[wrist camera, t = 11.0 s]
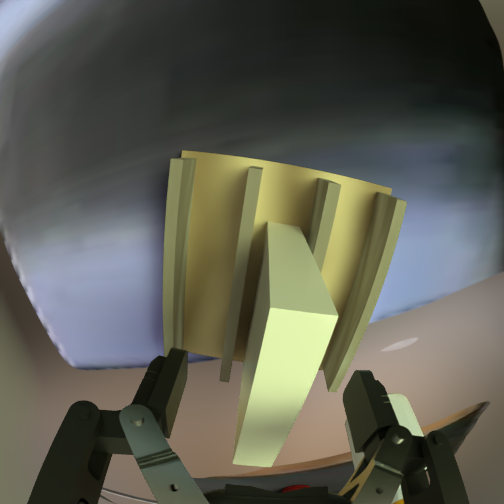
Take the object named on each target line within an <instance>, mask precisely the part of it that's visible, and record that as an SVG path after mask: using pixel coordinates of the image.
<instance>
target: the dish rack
mask: <svg viewBox="0 0 504 504" xmlns="http://www.w3.org/2000/svg"><path fill="white" fill-rule="evenodd" d="M391 191H392V189H391V188H388V187H384V186H381V185H377V184H373V183H370V182H366V181H362V180H358V179H354V178H350V177H345V176H341V175H337V174H332V173H328V172H323V171H319V170H314V169H309V168H304V167H299V166H294V165H288V164H283V163H277V162H271V161H265V160H258V159H252V158H245V157H238V156H230V155H222V154H214V153H205V152H195V151H182V156H181V158H172V159H171V163H170V172H169V181H168V192H167V204H166V217H165V234H164V256H163V339H164V357H167V356H168V354H169V351H170V349H171V348H172V347H173V348H178V349H182V350H187V351H188V352H190V353H195V354H200V355H206V356H211V357H217V358H222V366H221V374H220V381H223V382H229V379H230V372H231V366H232V360H235V361H241V362H244V353H245V346H246V340H247V335H248V329H249V324H250V318H251V313H252V307H253V302H254V296H255V291H256V285H257V279H258V274H259V268H260V262H261V257H262V251H263V245H264V239H265V234H266V228H267V222H268V221H269V222H275V223H281V224H287V225H293V226H298V227H300V229H301V231H302V233H303V235H304V237H305V239H306V242H307V244H308V246H309V248H310V250H311V253H312V255H313V257H314V259H315V262H316V264H317V266H318V268H319V271H320V273H321V275H322V278H323V280H324V282H325V284H326V287H327V289H328V292H329V294H330V296H331V299H332V301H333V303H334V306H335V308H336V311H337V313H338V319H337V322H336V325H335V328H334V330H333V333H332V336H331V338H330V341H329V344H328V346H327V349H326V352H325V354H324V357H323V359H322V362H321V364H320V367H319V369H318V370H323V371H324V375H325V379H326V384H327V389H328V392H337V390H338V388H339V386H340V384H341V382H342V380H343V378H344V376H345V374H346V372H347V370H348V368H349V366H350V364H351V362H352V360H353V357H354V355H355V353H356V351H357V349H358V347H359V344H360V342H361V340H362V338H363V335H364V332H365V330H366V328H367V326H368V323H369V321H370V318H371V316H372V313H373V311H374V308H375V306H376V303H377V300H378V298H379V295H380V292H381V289H382V286H383V284H384V281H385V278H386V275H387V272H388V269H389V266H390V262H391V259H392V256H393V253H394V249H395V246H396V243H397V239H398V236H399V232H400V228H401V225H402V221H403V217H404V213H405V209H406V204H407V202H406V201H404V200H401V199H398V198H396V197H393V196H391Z"/></svg>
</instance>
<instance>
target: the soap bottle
mask: <svg viewBox="0 0 504 504" xmlns="http://www.w3.org/2000/svg"><path fill="white" fill-rule="evenodd" d="M388 397H389V399H390V403H391V404H392V407H393V409H394V412H395V414H396V417H397V419H398V422H399V425H401V426H404V427H406V428H407V429H408V430H409V431H410V432H411V434H412V435H416V436H423V437H424V435H423V433H422V431H421V428H420V426H419V424H418V422H417V419H416V417H415V415H414V412H413V410H412V408H411V406H410V403H409V401H408V400H407V398H406V397H405V396H404V395H401V394H397V393H392V394H388ZM345 426H346V430H347V435H348V440H349V444H350V449H351V453H352V458H353V463H354V468H355V470H356V468H357V467H358V465H359V463H360V461H361V460H362V458H363V457H364V452H362V453H355V449H354V445H353V441H352V436H351V432H350V428H349V424H348V420H346V423H345ZM426 468H427V467H426ZM426 468H425V470H426ZM391 504H404V501H403V495H402V490H401V485H400V486H399V488H398V491H397V493H396V495H395V497H394V499H393V501H392V503H391Z"/></svg>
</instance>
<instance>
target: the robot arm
mask: <svg viewBox="0 0 504 504" xmlns="http://www.w3.org/2000/svg"><path fill="white" fill-rule="evenodd" d="M187 365H188V351H187V350H182V349H178V348H173V347H172V348H171V349H170V351H169V354H168V356H167V357H164V356H158V357H156V358H155V359H154V360H153V361H151V363H150V365H149V367H148V369H147V372H146V374H145V376H144V379H143V380H142V382H141V384H140V386H139V389H138V391H137V393H136V395H135V397H134V399H133V402H132V403H131V404H130V405H128V406H126V407H125V408H123V409H122V410H119V411H108V410H99V409H98V407H97V406H96V405H95V404H93V403H92V402H89V401H78V402H75V403H74V404H72V405H71V407H70V408H69V410H68V412H67V414H66V416H65V418H64V420H63V422H62V424H61V426H60V428H59V430H58V433H57V434H56V436H55V438H54V441H53V443H52V445H51V447H50V449H49V452H48V454H47V456H46V458H45V461H44V463H43V465H42V468H41V470H40V472H39V475H38V477H37V480H36V482H35V485H34V487H33V490H32V493H31V495H30V498H29V501H28V503H27V504H98V500H99V497H100V493H101V490H102V486H103V483H104V480H105V476H106V473H107V470H108V466H109V463H110V460H111V457H112V454H126V455H127V454H128V455H134V457H135V459H136V461H137V464H138V466H139V468H140V470H141V472H142V474H143V476H144V478H145V480H146V482H147V483H148V486H149V487H150V489H151V491H152V493H153V495H154V497H155V499H156V500H157V502H158V504H391V503H392V501H393V499H394V497H395V495H396V493H397V491H398V488H399V486H400V485H401V490H402V495H403V501H404V504H469V500H468V497H467V493H466V490H465V487H464V483H463V481H462V477H461V474H460V471H459V468H458V465H457V462H456V460H455V457H454V454H453V451H452V448H451V446H450V443H449V441H448V438H447V437H446V435H445V434H444V433H442V432H440V431H432V432H430V433H429V434H428V435H427V436H426V437H423V436H416V435H412V434H411V432H410V431H409V430H408V429H407V428H406V427H404V426H401V425H399V422H398V419H397V417H396V414H395V412H394V409H393V407H392V404H391V403H390V399H389V397H388V394H387V392H386V390H385V387H384V386H383V385H382V384H381V383H380V382H379V381H378V380H375V379H374V376H373V374H372V372H371V371H370V370H356V371H355V372H354V373H353V375H352V377H351V379H350V381H349V383H348V385H347V387H346V388H345V390H344V393H343V403H344V407H345V412H346V415H347V420H348V424H349V428H350V432H351V436H352V441H353V445H354V449H355V453H362V452H364V457H363V458H362V460H361V461H360V463H359V465H358V467H357V468H356V470H355V472H354V473H353V475H352V476H351V478H350V480H349V481H348V483H347V484H346V485H345V487H344V488H343V489H342V490H341V491H340V492H339V493H338V494H335V493H332V492H328V487H327V486H326V487H308V488H301V489H296V490H292V491H288V492H283V493H275V492H271V491H267V490H263V489H259V488H256V487H252V486H240V485H231V484H226V486H225V489H217V490H212V491H209V492H206V493H203V494H202V492H201V491H200V489H199V488H198V486H197V485H196V483H195V482H194V480H193V479H192V477H191V476H190V474H189V473H188V471H187V470H186V468H185V467H184V465H183V463H182V462H181V460H180V458H179V457H178V455H177V454H176V453H174V452H173V451H172V449H171V448H170V446H169V444H168V442H167V440H166V439H165V438H170V435H171V431H172V427H173V424H174V421H175V417H176V414H177V411H178V407H179V404H180V401H181V398H182V394H183V391H184V388H185V384H186V380H187ZM426 467H427V470H428V474H429V477H430V485H429V482H428V478H427V475H426V471H425V468H426Z"/></svg>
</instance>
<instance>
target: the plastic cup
mask: <svg viewBox="0 0 504 504" xmlns="http://www.w3.org/2000/svg"><path fill="white" fill-rule="evenodd" d="M308 487H309V486H306V485H295V486H289V487H286V488H284V489H283V492H288V491H292V490H296V489H301V488H308ZM283 492H282V493H283Z"/></svg>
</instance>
